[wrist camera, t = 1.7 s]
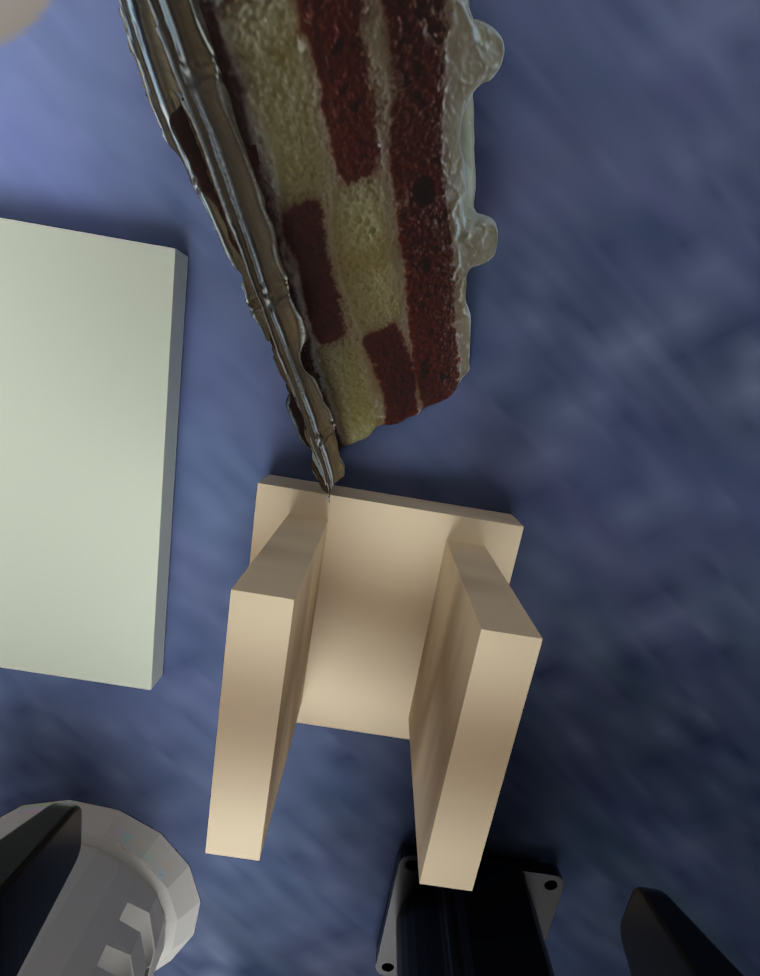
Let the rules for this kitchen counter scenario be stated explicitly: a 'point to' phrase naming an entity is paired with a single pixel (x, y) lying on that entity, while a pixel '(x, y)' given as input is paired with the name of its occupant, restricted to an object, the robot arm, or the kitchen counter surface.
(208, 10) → the chocolate cake
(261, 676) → the wooden slotted holder
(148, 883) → the french press
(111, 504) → the sage board
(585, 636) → the kitchen counter surface
